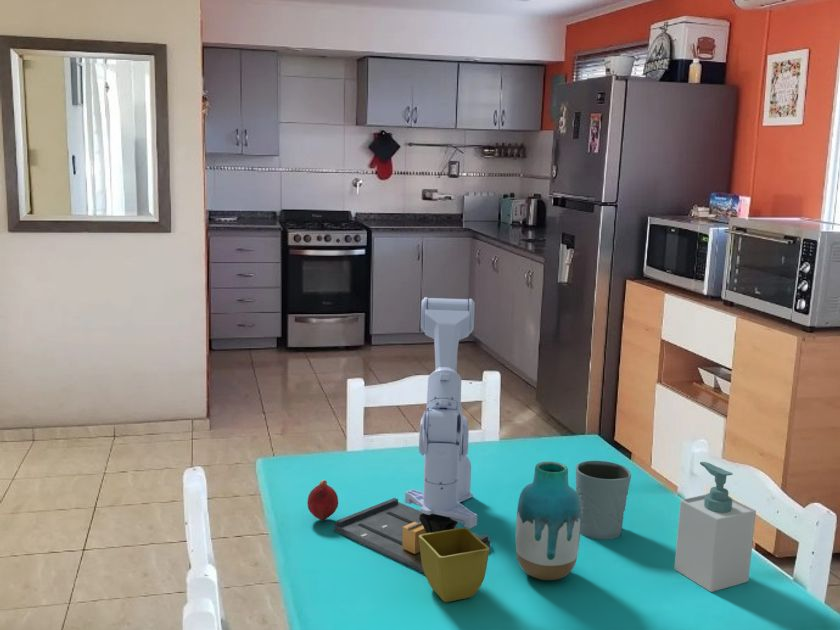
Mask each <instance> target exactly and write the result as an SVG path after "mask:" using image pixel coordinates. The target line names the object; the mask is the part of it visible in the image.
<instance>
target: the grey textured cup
mask: <svg viewBox="0 0 840 630" xmlns="http://www.w3.org/2000/svg"><path fill="white" fill-rule="evenodd" d="M631 478H632V471H631V470H630V469H629V468H627V467H626V466H624V465H622V464H619V463H615V462H613V461H606V460H586V461H582V462H579V463H578V464H576V465H575V491H576V492H577V494H578V496H579V499H580V507H581V527H580V535H582V536H583V537H586V538H589V539H594V540H600V541H601V540H603V541H604V540H612V539H617V538H618V537H620V536H621V533H622V531H623V529H622V528H623V522H624V512H625V511H626V505H627V499H628V498H627V497H628V494H629V487H630V484H631Z"/></svg>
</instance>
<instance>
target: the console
mask: <svg viewBox="0 0 840 630" xmlns="http://www.w3.org/2000/svg"><path fill="white" fill-rule="evenodd" d="M421 514H423V513H422V512H421V510H419V509H417V508H414V507H411V506H409V505H407V504H405V503H401V502H399V499H398V498H396V497H392V498H390V499H388V500H386V501H383V502H379V503H378V504H375V505H373V506H370V507H367V508H365V509H363V510H360V511H358V512H355V513H352V514H350V515H348V516H345V517H343V518H339V519H336V523H335V524H334V529H333V530H334V532H336V533H338V534H339V535H342V536H344V537H346V538H348V539H351V540H352V541H355V542H357V543H359V544H360V545H363V546H365V547H367V548H369V549H372V550H373V551H376V552H378V553H380V554H382V555H384V556H386V557H388V558H389V559H390V558H391V559H393V560H394V561H396V562H398V563H401V564H403V565H405V566H407V567H410V568H411V569H413V570H416V571H418V572H419V573H422V574H424V575H425V573H424V570H423V567H422V562H421V553H420V552H418V553H416V554H414V553H412V552H410V551H407V550H405V549H403V548H402V540H403V526H406V525H408V524H410V523H413V522H417V523H419V522H421V521H420V520H419V516H420V515H421ZM456 528H461V526H460V527H459V526H457V525H456V526H455V528H454V529H456ZM472 533H473V534H474V535H475V536H476V537H477V538H478V539H480V540H481V541H482V542H483V543H484V544H486V545H487V546H488V547H489V548H490V547H491V539H489V535H486V534H482V535H479V534H478V533H474V532H472Z"/></svg>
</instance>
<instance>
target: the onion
mask: <svg viewBox="0 0 840 630" xmlns="http://www.w3.org/2000/svg"><path fill="white" fill-rule="evenodd" d="M338 507H339V497H338V494H337V492H336V490H335V489H334V488H333V487H331V486H330V485H329V484H328V481H327V480H326V479H322V480H321V481H320V482H319V484H318V485H316V486H315V487H314V488H312V490H310V493H309V494H308V497H307V509H308V511H309V512H310V513H311V515H312V516H314V517H315V518H316V519H318V520H320V521H326V520H327V519H328V518H330V517H331V516H333V514H335V512H336V510H337V509H338Z"/></svg>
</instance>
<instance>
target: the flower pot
mask: <svg viewBox="0 0 840 630" xmlns="http://www.w3.org/2000/svg"><path fill="white" fill-rule="evenodd" d="M473 533H474V532H472V531H471V530H470V529H469V528H466V527H465V526H463V527H460V528H456V529H450V530H444V531H439V532H433V533H427V534H421V535H419V544H420V553H421V562H422V567H423V570H424V573H425V574H424V573H423V574H424V575H425V577H426V579H427V582H428V584H429V585H430V587H431V589H432V590H433V592H434V593H436V594H437V596H438V597H439V598H440V599H441V600H442V601H443V602H444V603H450V602H454V601H458V600H463V599H469V598H472V597H474V595H475V594H477V592H478V591H479V590H480V588H481V586H482V584H483V582H484V580H485V576H486V572H487V566H488V562H489V561H488V560H489V554H490V547H488V546H487V545H486V544H484V543H483V542H482V541H481V540H480V539H478V538H477V537H476V536H475V535H474V534H473Z"/></svg>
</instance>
